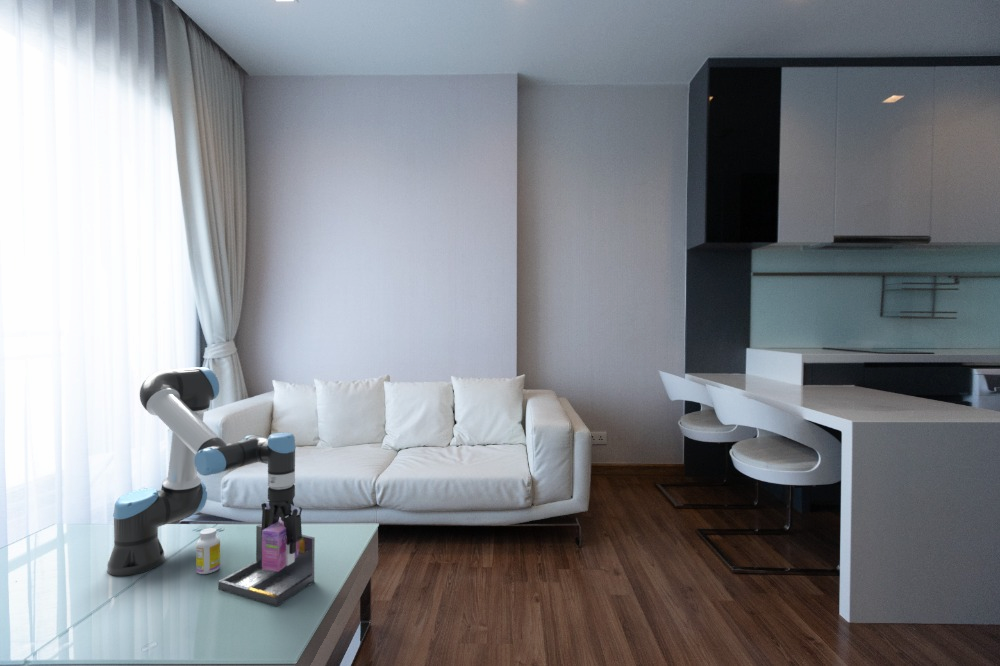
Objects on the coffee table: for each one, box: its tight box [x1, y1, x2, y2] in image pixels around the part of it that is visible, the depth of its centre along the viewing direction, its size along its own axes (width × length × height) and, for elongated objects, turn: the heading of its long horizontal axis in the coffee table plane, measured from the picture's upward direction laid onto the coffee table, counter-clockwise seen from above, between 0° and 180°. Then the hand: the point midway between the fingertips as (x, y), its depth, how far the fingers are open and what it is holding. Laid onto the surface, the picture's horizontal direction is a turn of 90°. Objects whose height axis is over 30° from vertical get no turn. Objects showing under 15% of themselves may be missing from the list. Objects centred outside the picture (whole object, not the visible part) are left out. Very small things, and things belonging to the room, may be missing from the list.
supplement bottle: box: [195, 527, 221, 575], centre depth 164 cm, size 7×7×13 cm
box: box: [262, 516, 299, 572], centre depth 153 cm, size 10×6×12 cm, turn 168°
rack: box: [217, 524, 316, 608], centre depth 155 cm, size 23×15×14 cm, turn 68°
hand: (281, 561), depth 153 cm, fingers closed on box, 6 cm apart
